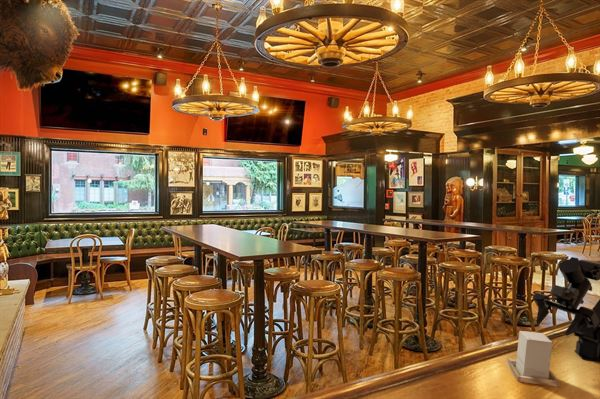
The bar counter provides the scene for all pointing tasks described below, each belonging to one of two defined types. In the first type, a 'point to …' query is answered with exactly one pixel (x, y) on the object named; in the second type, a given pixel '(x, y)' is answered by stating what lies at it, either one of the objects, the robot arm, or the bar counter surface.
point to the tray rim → (540, 381)
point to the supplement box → (533, 355)
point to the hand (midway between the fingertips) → (551, 329)
